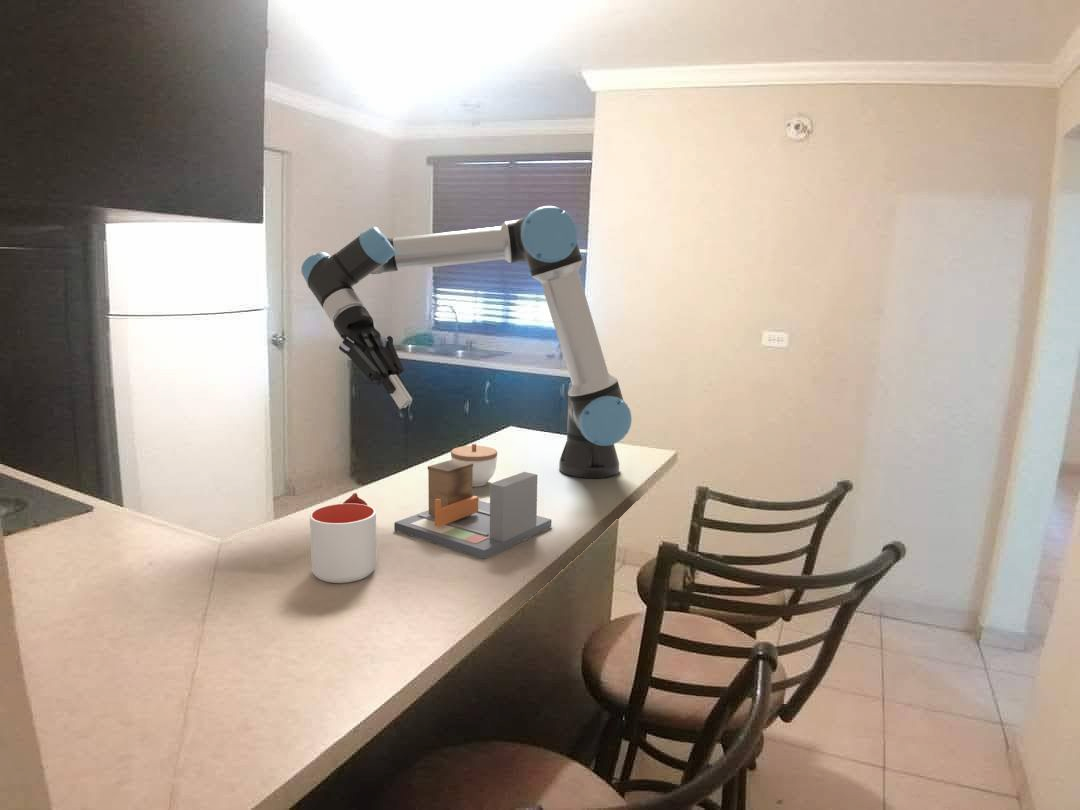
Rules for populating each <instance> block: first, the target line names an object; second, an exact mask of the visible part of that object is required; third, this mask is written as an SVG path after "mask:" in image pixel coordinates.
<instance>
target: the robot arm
mask: <svg viewBox="0 0 1080 810" xmlns="http://www.w3.org/2000/svg"><path fill="white" fill-rule="evenodd" d="M578 236H579V234H578V227H577V225H576V222H575V221H574V218H572V216H571V214H570V213H568V212H567V211H566V210H564V209H563V208H560V207H557V206H555V205H554V206H553V205H544V206H539V207H538V208H535V209H532V210H531V211H530V212H529V213H527V215H526V216H525V217H522V218H521V217H520V218H518V219H514V220H506V221H504V222H503V223H502V224H501V225H500V226H492V227H482V228H474V229H465V230H455V231H446V232H437V233H427V234H418V235H408V236H400V237H392V238H391V237H390V238H389V237H388V238H387V237H386V235H385V234H384V233H383V232H382V230H380V228H379V227H377V226H371V227H370V228H369V229H367V230H366V231H363V232H361V233H360V234H359V235H358V236H357V237H355V239H353V240H352V241H350V242H349V243H348V244H346V245H345V246H344V247H343V248H341V249H340V250H339V251H337V252H336V253H334V254H332V255H331V254H329V252H324V251H321V252H317V253H316V254H311V255H310V256H309V255H308V257H307V258H306V259H305V260H304V261H303V263H302V264H301V275H302V277H303V279H304V280H305V282H306V285H307V287H308V289H309V290H310V291H311V292H312V294H313V296H314V297H315V298H316V300H317V301H318V303H319V304H320V306H321V307H322V309H323V310H324V313H325V314H326V316H327V317H328V318H329V320H330V322H331V323H332V324H333V326H334V327H333V328H334V329H335V331H336V332H337V333H338V334H339V336H340V338H341V339H342V342H341V344H340V345H339V347H338V349H339V351H341V352H343V354H346V355H347V356H348V358H349V359H350V360H351V361H352V362H353V363H354V364H355V365H356V367H358V369H359V370H360V371H361V372H362V373H363V374H364V375H365V376H366V378H368V380H369V381H370V382H375V381H376V383H375V384H376V385H377V386H383V388H384V389H385V391H386V393H387V394H389V395H390V396H391V398H392V399H393V401H394V402H395V404H396V405H397V407H398V408H399V409H406V408H407V407H408V405H410V403H411V402H412V401H413V398H412V396H411V395H410V393H409V392H408V390H407V389H406V385H405V383H404V382H403V380H402V378H401V375H402V373H403V372H404V371H405V370H404V367H403V364H402V362H401V359H400V358H399V355H398V352H397V351H396V348H395V345H394V338H393V337H392V336H391V335H388V336H387V337H385V336H382V335H381V333H380V332H379V331H378V330H377V329H376V328H375V325H374V319H373V317H372V316H371V314H370V313H369V311H368V310H367V308H366V307H365V305H364V302H363V301H362V300H361V299H360V297H359V296H358V294H357V293H356V291H355V290H354V289H353V287H354V286H355V285H356V284H358V283H360V282H361V281H362V280H363V279H364V278H366V277H368V276H369V275H379V274H383V273H390V272H398V271H405V270H416V269H425V268H426V269H427V268H435V267H444V266H454V265H460V264H461V265H463V264H470V263H471V264H473V263H481V262H491V261H492V262H493V261H498V260H505V261H506V262H508V263H509V264H510V263H511V264H512V263H527V265H528V269H529V271H530V275H531V278H532V279H535V280H537V281H538V282H539V283H540V284H541V287H542V290H543V294H544V297H545V301H546V304H547V307H548V310H549V312H550V313H549V314H550V317H551V320H552V323H553V326H554V329H555V333H556V336H557V339H558V342H559V346H560V348H561V349H560V350H561V351H562V355H563V359H564V362H565V365H566V368H567V372H568V375H569V378H570V382H569V384H568V390H567V395H568V396H567V401H568V402H567V424H566V426H567V428H566V430H567V431H566V432H567V433H566V442H565V444H564V447H563V450H562V453H561V455H560V457H559V463H558V465H559V467H558V468H559V469H558V470H559V471H560V472H561V473H562V474H565V475H568V476H570V477H576V478H583V479H584V478H586V479H600V478H601V479H602V478H610V477H614V476H617V475H618V474H619V473H620V461H619V458H618V454H617V450H616V447H615V444H616V443H619V442H621V440H624V438H625V437H626V436H627V434H628V433H629V431H630V429H631V426H632V421H633V420H632V413H631V410H630V407H629V406H628V403H626V402H625V400H624V398H623V393H622V391H621V387H620V384H619V381H618V378H617V377H615V376H614V375H611V374H610V373H609V371H608V370H609V369H608V367H607V364H606V360H605V356H604V353H603V351H602V346H601V343H600V340H599V337H598V333H597V330H596V327H595V323H594V320H593V316H592V312H591V309H590V306H589V302H588V300H587V296H586V295H587V294H586V293H585V289H584V285H583V283H582V279H581V275H580V272H579V271H580V268H581V266H582V263H583V262H584V261H583V258H582V255H581V250H580V248H579V244H578V239H579V237H578Z"/></svg>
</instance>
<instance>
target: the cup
mask: <svg viewBox="0 0 1080 810" xmlns="http://www.w3.org/2000/svg"><path fill="white" fill-rule="evenodd" d="M367 505H368V504H367ZM367 505H363V504H353V503H346V504H343V503H336V504H329V505H325V506H321V507H319V508H317V509H315V510H313V511H312V512H311V513H310V514H309V528H310V529H309V530H310V531H309V532H310V556H311V558H310V559H311V561H310V562H311V570H312V573H313V575H314V576H315V577H316V578H317V579H318V580H321V581H323V582H326V583H330V584H331V583H333V584H346V583H351V582H352V583H353V582H357V581H360V580H362V579H365V578H367V577H368V576H370V575H371V574H372V573H373V572H374V571H375V569H376V567H377V564H378V563H377V562H378V560H377V559H378V558H377V554H378V553H377V516H376V515H377V513H376V512H377V511H376V509H374V507H371V506H370V505H368V506H367Z"/></svg>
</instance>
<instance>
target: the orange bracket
mask: <svg viewBox="0 0 1080 810" xmlns="http://www.w3.org/2000/svg"><path fill="white" fill-rule="evenodd" d="M478 500H479V496H477V495H472V497H470V498H467V499H464V500H461V501H459V502H456V503H453V504H450V505H447V506H445V507H442V508H441V500H440V499H435V526H437V527H440V526H443V525H445V524H448V523H450V522H453V521H455V520H458V519H461V518H463V517H466V516H468V515H471V514H474V513H476V512H478Z"/></svg>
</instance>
